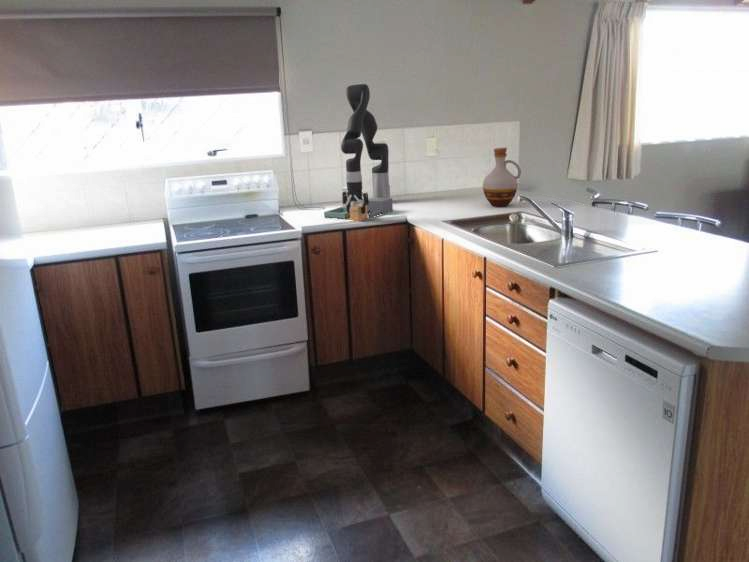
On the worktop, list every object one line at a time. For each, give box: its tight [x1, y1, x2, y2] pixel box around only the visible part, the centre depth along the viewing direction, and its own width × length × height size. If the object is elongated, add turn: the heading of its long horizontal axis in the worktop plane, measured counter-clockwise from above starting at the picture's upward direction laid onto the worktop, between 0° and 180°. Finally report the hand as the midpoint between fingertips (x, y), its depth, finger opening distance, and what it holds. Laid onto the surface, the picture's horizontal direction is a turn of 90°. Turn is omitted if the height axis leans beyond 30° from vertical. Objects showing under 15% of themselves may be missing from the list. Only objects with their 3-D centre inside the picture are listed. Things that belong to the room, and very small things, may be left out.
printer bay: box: [367, 197, 394, 219], centre depth 328 cm, size 20×10×7 cm, turn 146°
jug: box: [482, 147, 522, 208], centre depth 330 cm, size 20×18×30 cm
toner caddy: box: [349, 204, 369, 223], centre depth 316 cm, size 9×5×7 cm, turn 146°
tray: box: [323, 206, 350, 220], centre depth 329 cm, size 15×13×3 cm
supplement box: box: [341, 185, 360, 207], centre depth 342 cm, size 7×7×13 cm
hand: (356, 213), depth 315 cm, fingers open, 8 cm apart
